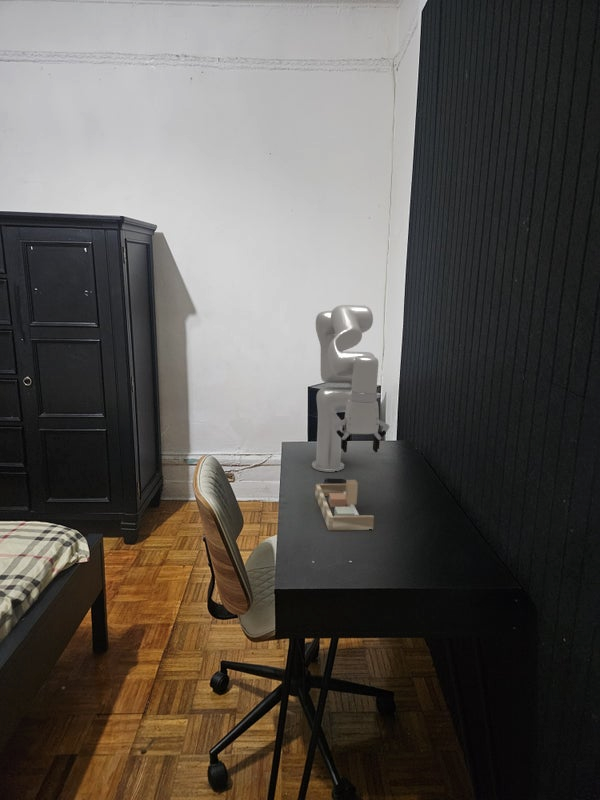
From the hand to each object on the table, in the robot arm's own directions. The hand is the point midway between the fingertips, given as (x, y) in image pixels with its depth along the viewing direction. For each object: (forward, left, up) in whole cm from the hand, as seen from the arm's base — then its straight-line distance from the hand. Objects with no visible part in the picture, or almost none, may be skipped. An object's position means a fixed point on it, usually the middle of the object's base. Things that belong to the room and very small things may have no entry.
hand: (359, 451), depth 165 cm
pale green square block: (+6, -5, -20) cm, 21 cm away
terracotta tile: (-5, -5, -20) cm, 21 cm away
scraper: (0, -2, -20) cm, 20 cm away
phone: (-19, -3, -20) cm, 28 cm away
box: (0, -4, -20) cm, 20 cm away
